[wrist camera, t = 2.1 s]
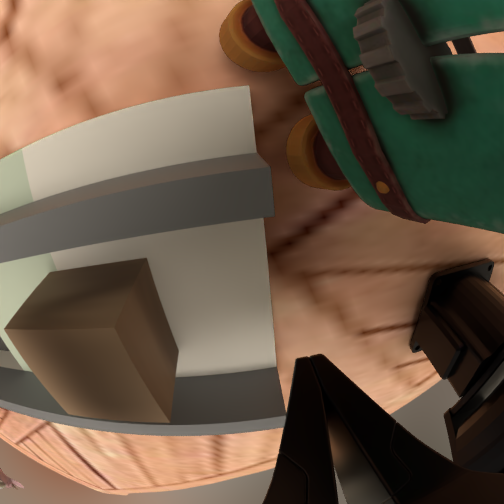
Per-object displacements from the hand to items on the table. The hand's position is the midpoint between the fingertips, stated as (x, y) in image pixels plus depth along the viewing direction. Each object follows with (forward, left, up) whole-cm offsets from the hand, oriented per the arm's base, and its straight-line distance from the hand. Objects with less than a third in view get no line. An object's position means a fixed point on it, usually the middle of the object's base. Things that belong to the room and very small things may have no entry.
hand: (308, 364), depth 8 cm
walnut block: (+8, 0, -4) cm, 8 cm away
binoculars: (-9, -11, -2) cm, 15 cm away
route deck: (+13, 0, -6) cm, 14 cm away
